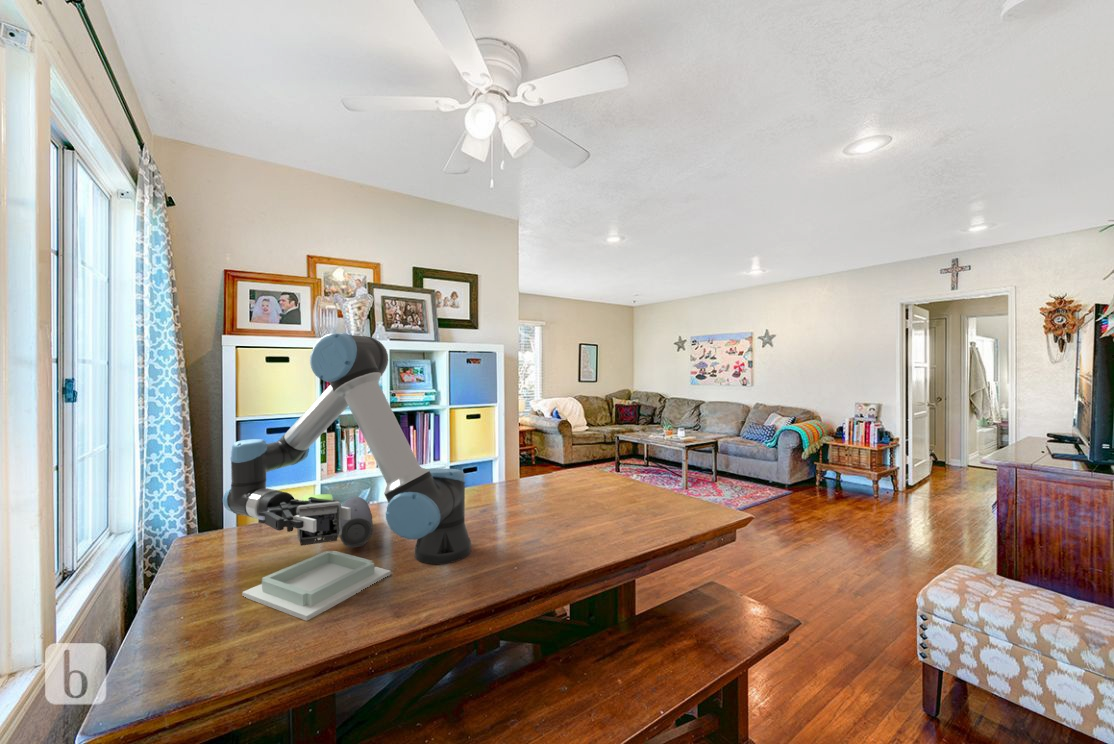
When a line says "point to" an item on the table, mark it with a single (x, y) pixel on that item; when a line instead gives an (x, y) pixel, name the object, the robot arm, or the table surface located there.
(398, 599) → the table surface
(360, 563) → the pocket tray
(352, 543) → the bluetooth speaker
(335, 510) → the electrical switch
